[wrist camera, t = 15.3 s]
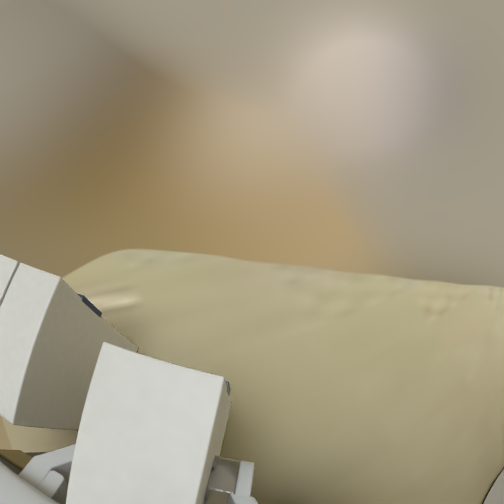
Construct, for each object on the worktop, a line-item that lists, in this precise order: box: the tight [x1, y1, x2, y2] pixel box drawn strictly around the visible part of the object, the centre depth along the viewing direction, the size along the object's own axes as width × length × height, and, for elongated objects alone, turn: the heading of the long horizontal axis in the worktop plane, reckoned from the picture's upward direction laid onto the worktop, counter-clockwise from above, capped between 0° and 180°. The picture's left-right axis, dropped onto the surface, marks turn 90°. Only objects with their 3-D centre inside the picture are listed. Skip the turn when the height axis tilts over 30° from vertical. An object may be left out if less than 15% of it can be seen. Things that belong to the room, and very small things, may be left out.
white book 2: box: [66, 342, 232, 504], centre depth 9 cm, size 3×7×12 cm, turn 169°
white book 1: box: [0, 263, 138, 430], centre depth 14 cm, size 3×7×12 cm, turn 169°
